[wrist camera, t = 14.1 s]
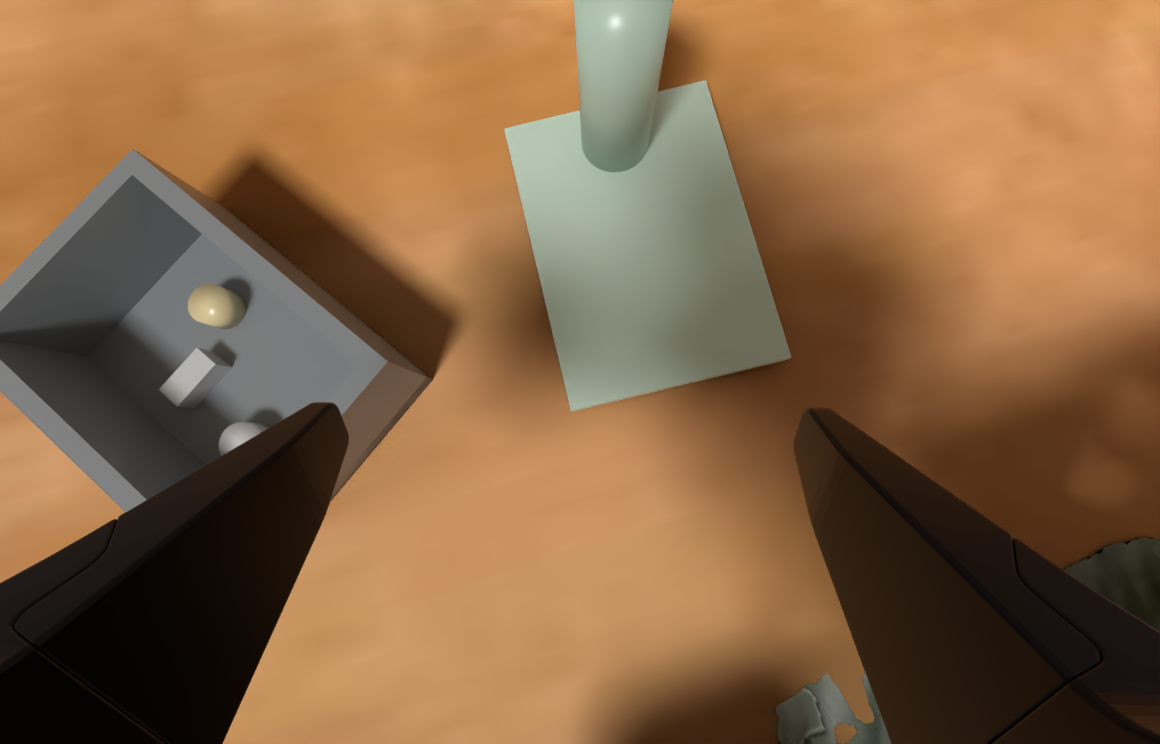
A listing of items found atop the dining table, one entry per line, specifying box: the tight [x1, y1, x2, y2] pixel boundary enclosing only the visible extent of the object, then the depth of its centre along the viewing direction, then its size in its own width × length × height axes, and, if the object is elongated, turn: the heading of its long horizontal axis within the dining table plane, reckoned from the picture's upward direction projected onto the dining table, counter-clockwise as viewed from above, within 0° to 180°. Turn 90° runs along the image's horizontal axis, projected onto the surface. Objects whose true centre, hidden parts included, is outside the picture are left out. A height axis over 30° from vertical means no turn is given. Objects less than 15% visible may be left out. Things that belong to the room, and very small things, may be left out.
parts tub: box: [0, 149, 432, 512], centre depth 21 cm, size 10×14×5 cm
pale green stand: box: [504, 0, 792, 412], centre depth 19 cm, size 10×14×9 cm
